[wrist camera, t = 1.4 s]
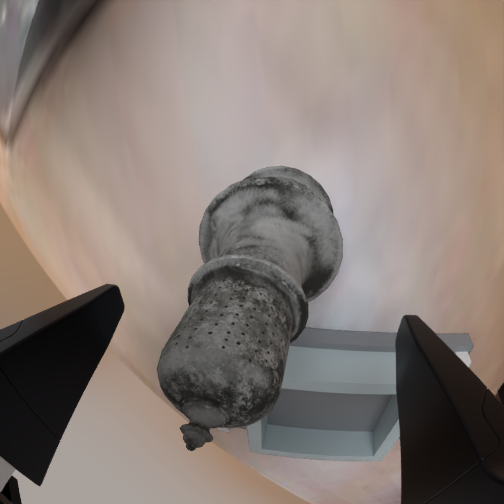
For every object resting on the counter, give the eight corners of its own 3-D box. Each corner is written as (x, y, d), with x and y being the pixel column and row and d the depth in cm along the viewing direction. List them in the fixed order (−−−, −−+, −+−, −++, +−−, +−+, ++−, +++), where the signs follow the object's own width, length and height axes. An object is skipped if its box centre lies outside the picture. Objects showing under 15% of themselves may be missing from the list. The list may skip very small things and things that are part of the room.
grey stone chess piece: (222, 157, 14) (17, 302, 4) (345, 165, 13) (403, 385, 3) (225, 262, 17) (114, 456, 7) (331, 274, 16) (315, 507, 6)
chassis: (468, 333, 16) (484, 373, 12) (413, 427, 21) (416, 460, 18) (202, 315, 19) (181, 355, 16) (221, 413, 25) (210, 445, 22)
